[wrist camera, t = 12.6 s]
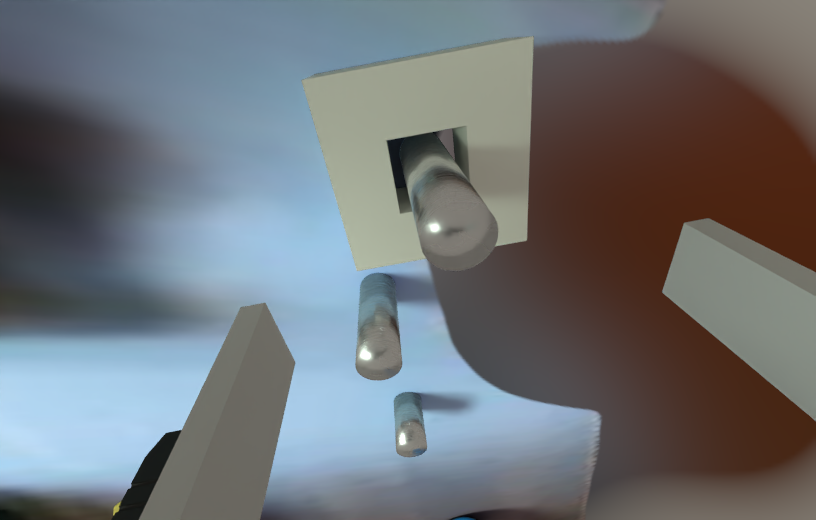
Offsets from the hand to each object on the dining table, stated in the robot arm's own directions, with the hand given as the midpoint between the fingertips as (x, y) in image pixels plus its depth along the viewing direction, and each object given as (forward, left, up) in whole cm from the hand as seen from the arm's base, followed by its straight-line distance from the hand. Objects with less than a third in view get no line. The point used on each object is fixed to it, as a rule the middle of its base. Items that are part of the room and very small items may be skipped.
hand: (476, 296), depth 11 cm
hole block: (0, 0, -18) cm, 18 cm away
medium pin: (-6, -12, -18) cm, 23 cm away
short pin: (-6, -30, -18) cm, 36 cm away
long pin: (0, 0, -18) cm, 18 cm away
